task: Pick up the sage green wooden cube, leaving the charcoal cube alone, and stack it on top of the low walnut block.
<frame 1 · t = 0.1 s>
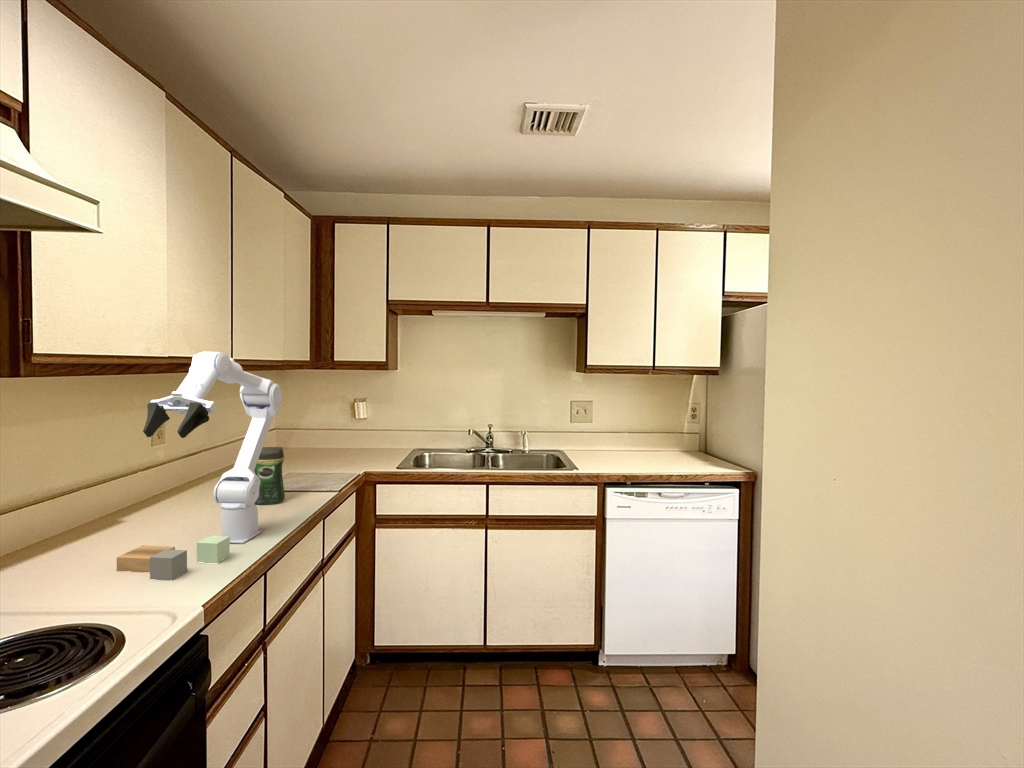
hand: (163, 434, 117), 32 cm above the table, tool tilted 50°, fingers open, 7 cm apart
sage cube: (213, 560, 131), on the table
coffee jar: (268, 502, 183), on the table
walnut base: (146, 566, 127), on the table
charcoal cube: (168, 575, 122), on the table
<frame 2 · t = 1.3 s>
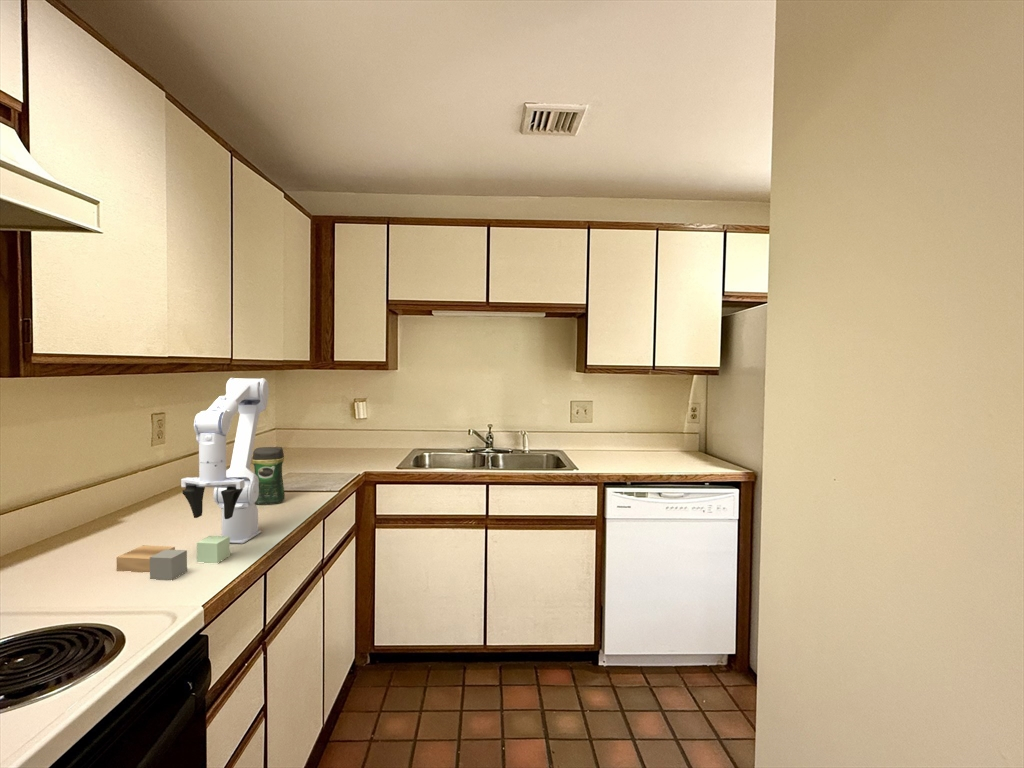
hand: (213, 517, 131), 10 cm above the table, tool pointing down, fingers open, 7 cm apart
nothing on the table moved.
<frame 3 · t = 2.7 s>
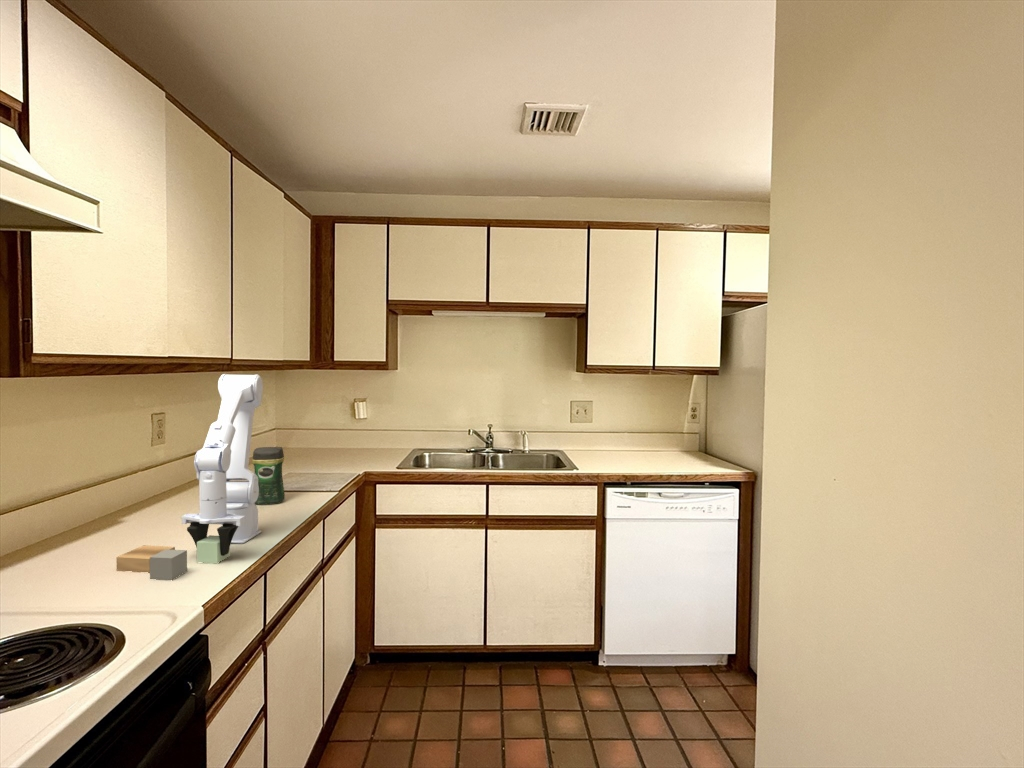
hand: (213, 553, 131), 1 cm above the table, tool pointing down, fingers closed on sage cube, 5 cm apart
sage cube: (213, 559, 131), on the table, touching gripper
everything else where it was.
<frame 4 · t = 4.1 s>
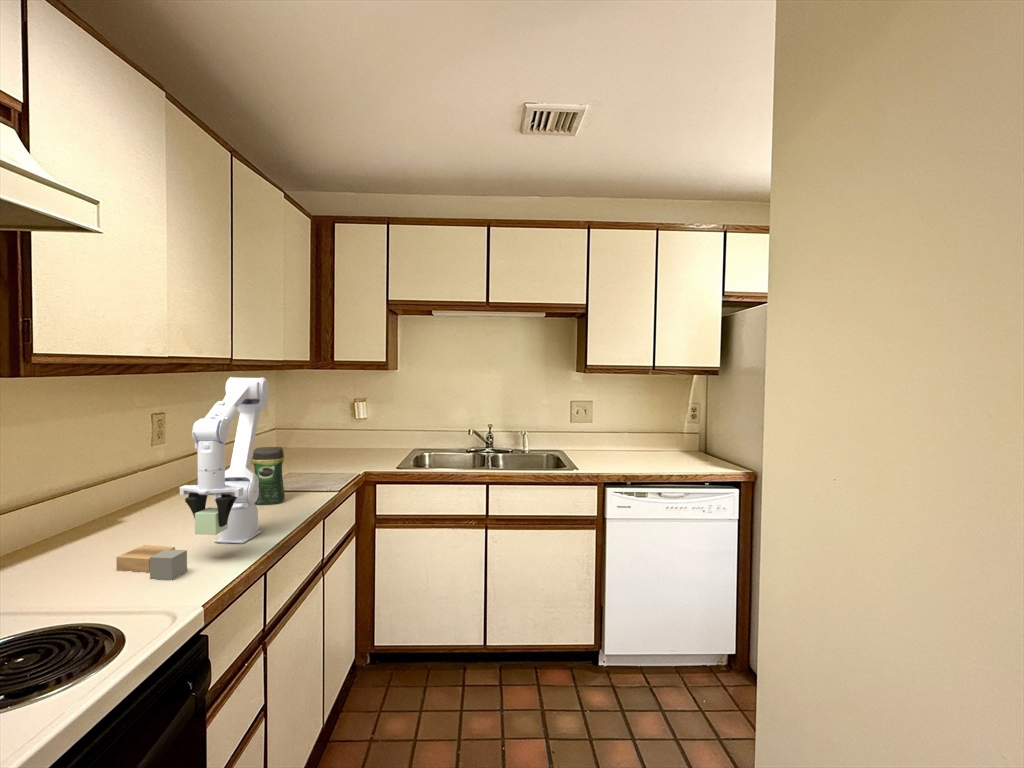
hand: (211, 525, 131), 8 cm above the table, tool pointing down, fingers closed on sage cube, 5 cm apart
sage cube: (211, 531, 131), point 7 cm above the table, touching gripper
everything else where it was.
when the fingers open (6 cm above the table, at t = 5.8 s): sage cube drops 2 cm, resting on walnut base.
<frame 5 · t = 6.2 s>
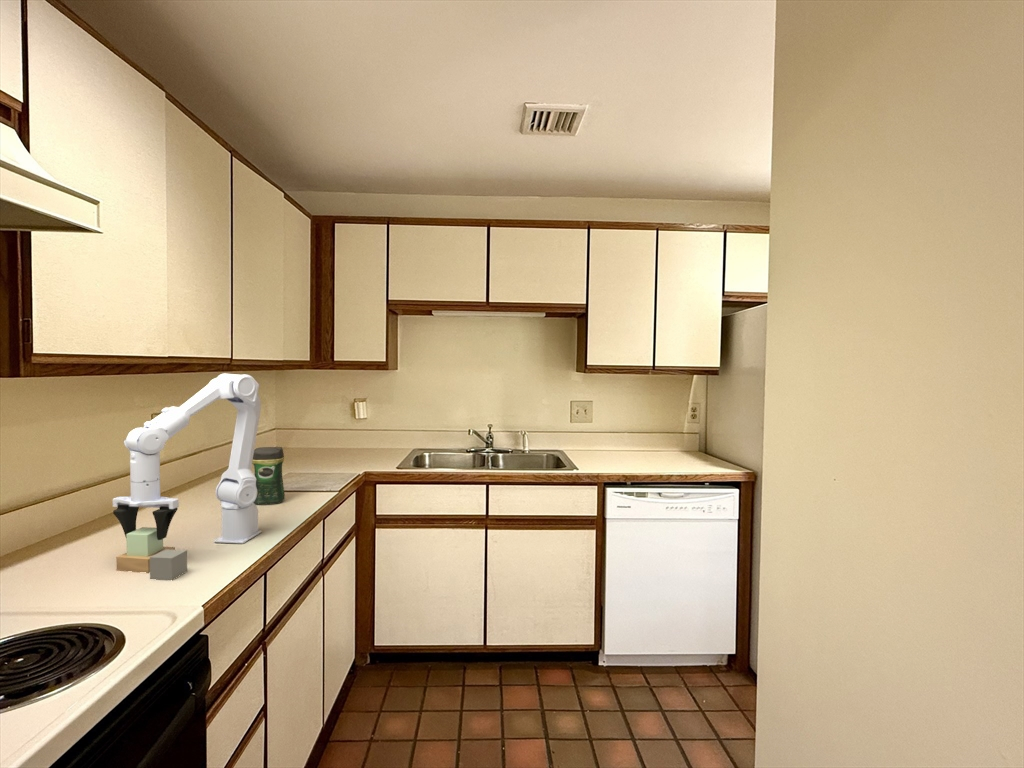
hand: (146, 537, 127), 6 cm above the table, tool pointing down, fingers open, 7 cm apart
sage cube: (145, 552, 127), point 3 cm above the table, touching walnut base
walnut base: (146, 566, 127), on the table, touching sage cube
everything else where it was.
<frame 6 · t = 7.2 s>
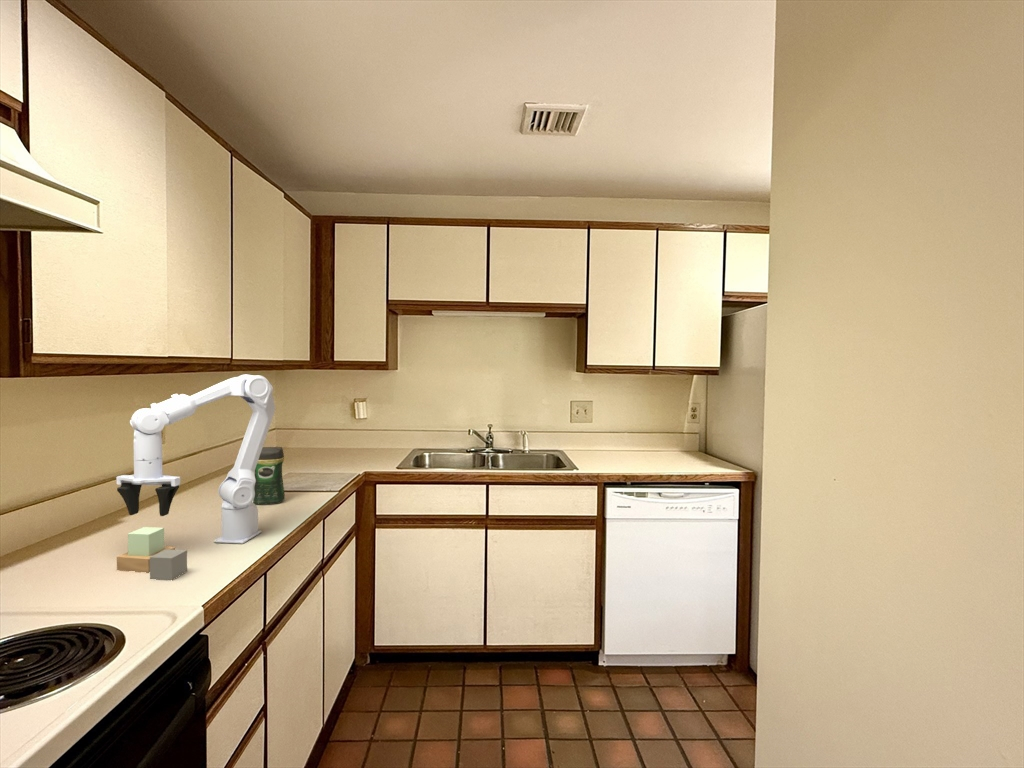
hand: (149, 514, 132), 10 cm above the table, tool pointing down, fingers open, 7 cm apart
nothing on the table moved.
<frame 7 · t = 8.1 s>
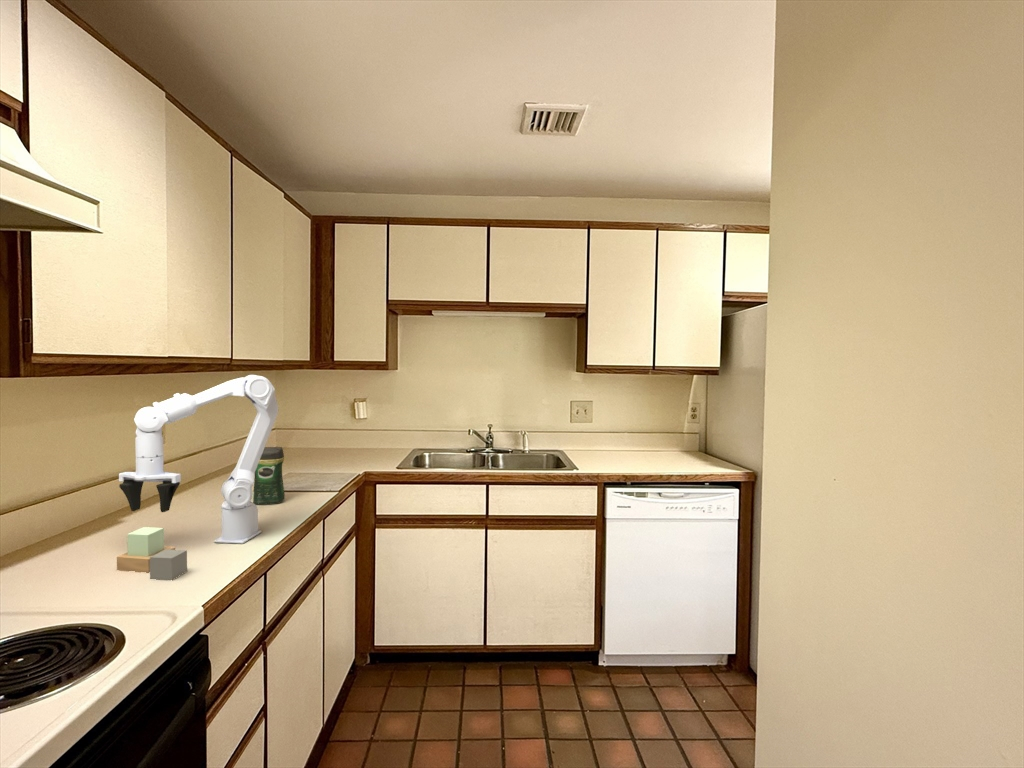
hand: (150, 510, 135), 10 cm above the table, tool pointing down, fingers open, 7 cm apart
nothing on the table moved.
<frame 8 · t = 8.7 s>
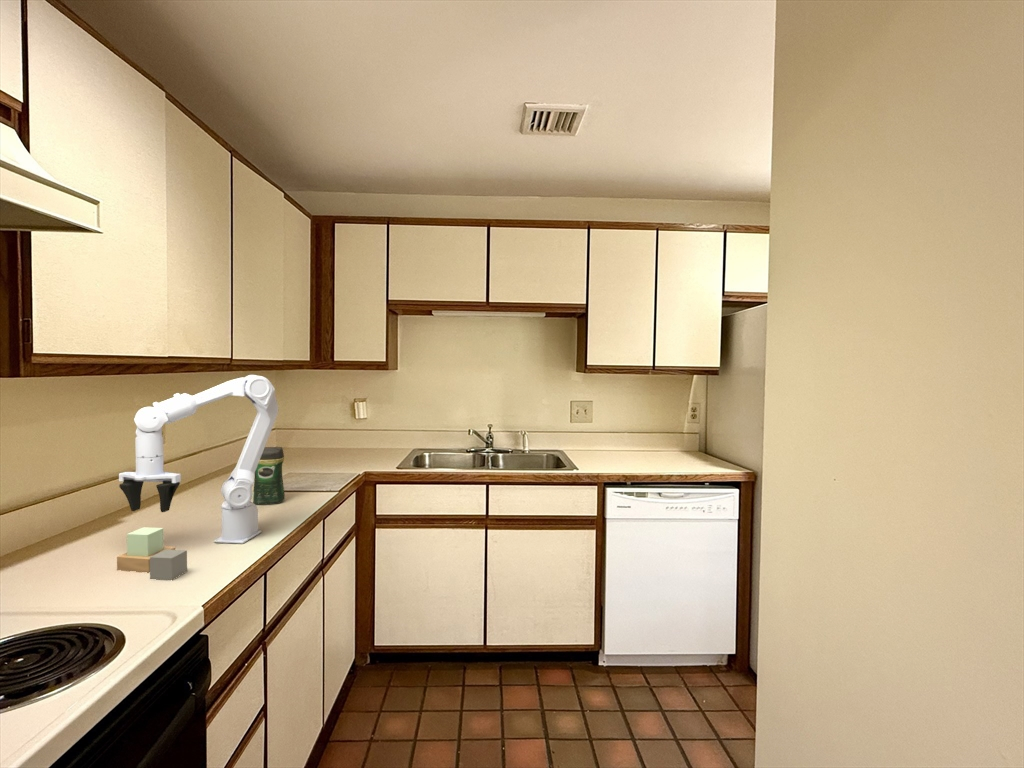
hand: (150, 510, 135), 10 cm above the table, tool pointing down, fingers open, 7 cm apart
nothing on the table moved.
at the end: sage cube 0.2 cm off-centre on the walnut base, point 3.5 cm above the walnut base's base; sage cube tilted 0°; the gripper is holding nothing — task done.
